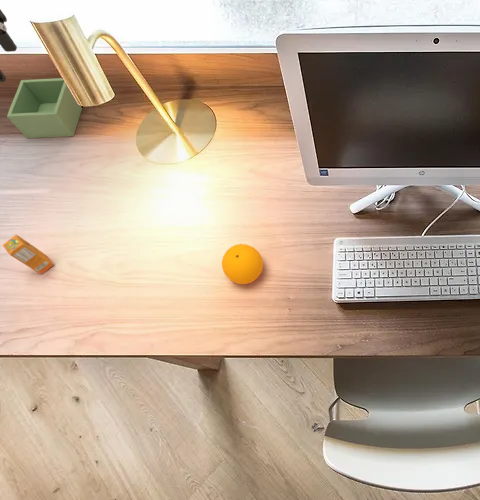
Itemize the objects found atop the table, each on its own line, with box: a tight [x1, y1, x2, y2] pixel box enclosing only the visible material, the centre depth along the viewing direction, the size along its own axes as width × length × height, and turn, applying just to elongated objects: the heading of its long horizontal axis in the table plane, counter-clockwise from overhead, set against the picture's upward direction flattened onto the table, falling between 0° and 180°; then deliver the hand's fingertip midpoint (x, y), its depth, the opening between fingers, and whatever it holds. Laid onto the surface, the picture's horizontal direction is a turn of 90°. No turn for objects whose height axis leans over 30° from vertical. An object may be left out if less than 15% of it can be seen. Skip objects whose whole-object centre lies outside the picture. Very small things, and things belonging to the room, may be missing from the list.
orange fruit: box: [221, 243, 264, 285], centre depth 97 cm, size 8×8×8 cm
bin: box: [6, 77, 83, 139], centre depth 119 cm, size 12×12×8 cm
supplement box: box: [2, 234, 55, 275], centre depth 99 cm, size 3×3×10 cm
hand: (6, 65), depth 92 cm, fingers open, 8 cm apart
